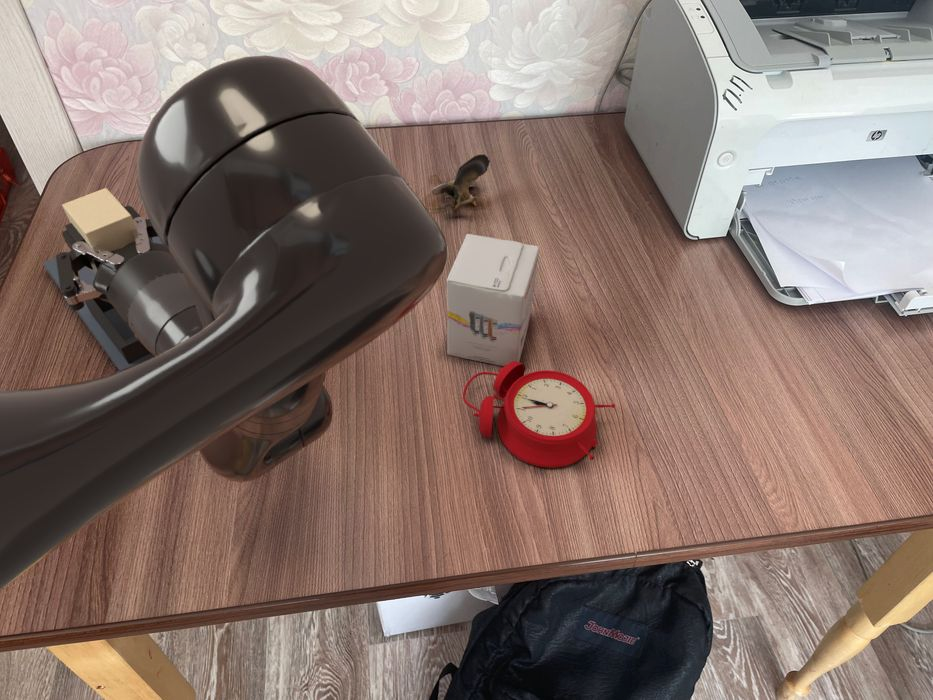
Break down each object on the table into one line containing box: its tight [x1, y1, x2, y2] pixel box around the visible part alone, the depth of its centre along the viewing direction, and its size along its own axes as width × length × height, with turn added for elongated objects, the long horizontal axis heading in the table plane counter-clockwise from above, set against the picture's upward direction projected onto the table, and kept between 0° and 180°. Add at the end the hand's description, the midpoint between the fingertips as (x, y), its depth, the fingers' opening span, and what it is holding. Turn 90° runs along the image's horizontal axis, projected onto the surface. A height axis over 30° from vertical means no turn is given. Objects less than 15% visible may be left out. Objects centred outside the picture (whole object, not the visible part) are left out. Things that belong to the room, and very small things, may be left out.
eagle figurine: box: [431, 153, 491, 218], centre depth 99 cm, size 8×7×9 cm
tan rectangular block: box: [61, 187, 137, 252], centre depth 73 cm, size 4×6×9 cm
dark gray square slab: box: [42, 236, 163, 371], centre depth 87 cm, size 24×23×4 cm
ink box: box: [446, 233, 540, 367], centre depth 79 cm, size 9×9×12 cm
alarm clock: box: [462, 361, 616, 469], centre depth 74 cm, size 10×6×15 cm
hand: (96, 221), depth 73 cm, fingers closed on tan rectangular block, 4 cm apart
